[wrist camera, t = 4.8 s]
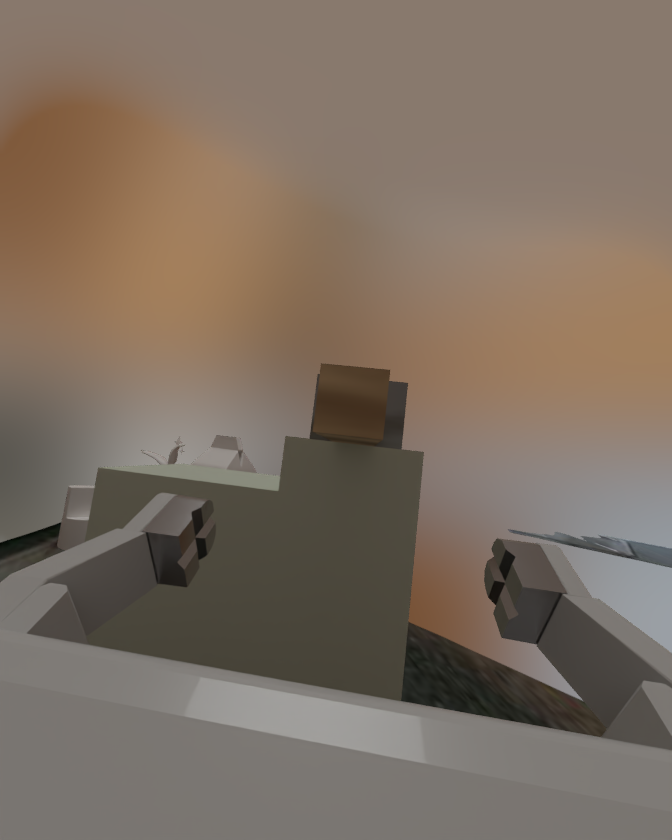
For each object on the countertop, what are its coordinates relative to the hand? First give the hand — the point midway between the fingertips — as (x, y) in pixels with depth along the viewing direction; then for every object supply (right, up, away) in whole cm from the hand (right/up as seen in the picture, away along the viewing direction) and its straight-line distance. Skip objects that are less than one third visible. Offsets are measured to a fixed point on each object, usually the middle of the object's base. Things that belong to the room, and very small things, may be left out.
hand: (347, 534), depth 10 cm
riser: (-9, -24, +18) cm, 31 cm away
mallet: (+1, +2, +15) cm, 15 cm away
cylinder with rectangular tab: (-53, -23, +61) cm, 84 cm away
